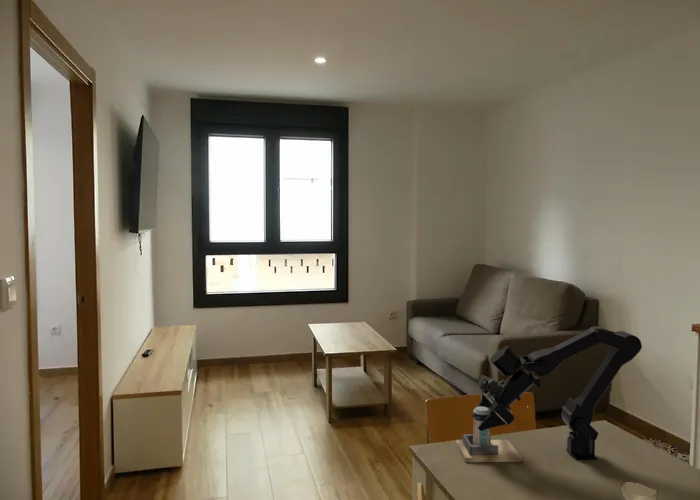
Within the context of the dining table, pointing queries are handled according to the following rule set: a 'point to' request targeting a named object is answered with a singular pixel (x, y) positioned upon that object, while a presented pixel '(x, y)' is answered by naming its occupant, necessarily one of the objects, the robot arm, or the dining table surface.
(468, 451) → the seat board
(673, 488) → the dining table surface
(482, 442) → the beer can
